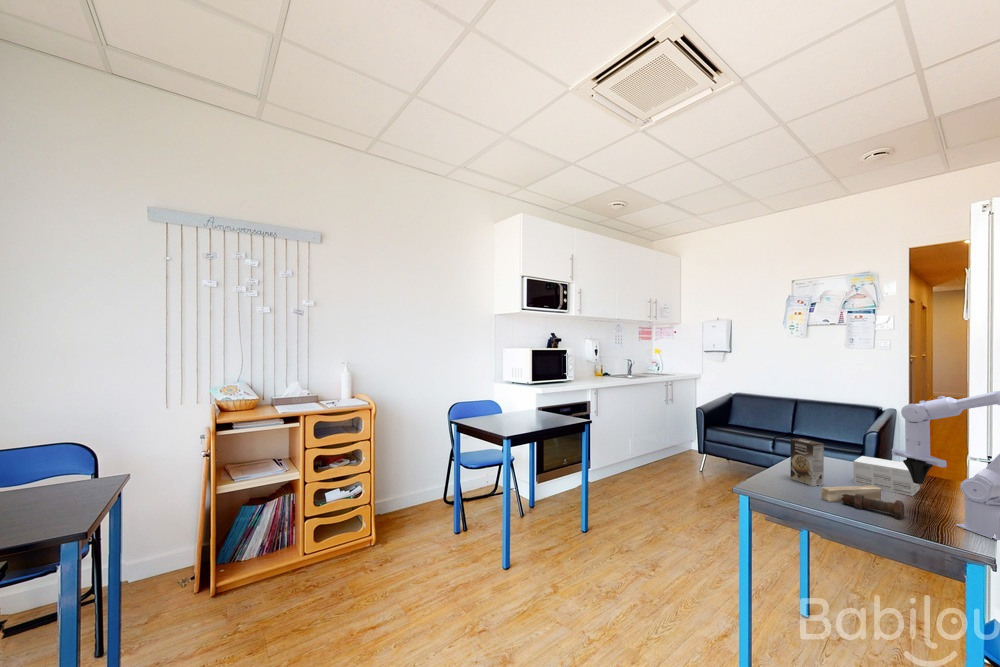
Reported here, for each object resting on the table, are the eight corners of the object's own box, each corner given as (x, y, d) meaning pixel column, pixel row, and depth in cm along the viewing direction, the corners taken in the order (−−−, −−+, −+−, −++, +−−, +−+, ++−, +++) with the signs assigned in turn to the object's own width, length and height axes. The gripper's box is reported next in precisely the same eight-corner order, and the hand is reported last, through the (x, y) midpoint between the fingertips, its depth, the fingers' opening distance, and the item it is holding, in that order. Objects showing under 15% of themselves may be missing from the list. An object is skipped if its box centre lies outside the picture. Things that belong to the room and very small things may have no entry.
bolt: (843, 508, 144) (904, 522, 132) (839, 504, 141) (900, 517, 129) (845, 492, 146) (905, 503, 134) (841, 487, 143) (901, 498, 131)
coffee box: (789, 479, 169) (789, 438, 169) (801, 477, 171) (801, 437, 171) (812, 486, 160) (812, 444, 161) (824, 485, 162) (824, 442, 162)
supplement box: (920, 489, 159) (919, 464, 159) (913, 497, 151) (913, 470, 151) (862, 477, 172) (861, 454, 172) (853, 484, 164) (852, 460, 164)
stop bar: (881, 500, 147) (880, 488, 147) (829, 502, 144) (829, 490, 145) (872, 496, 150) (872, 485, 150) (821, 498, 147) (821, 487, 148)
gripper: (883, 436, 143) (884, 476, 143) (932, 446, 129) (932, 491, 129) (902, 435, 144) (902, 475, 144) (952, 446, 130) (952, 490, 129)
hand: (918, 483), depth 136 cm, fingers closed
